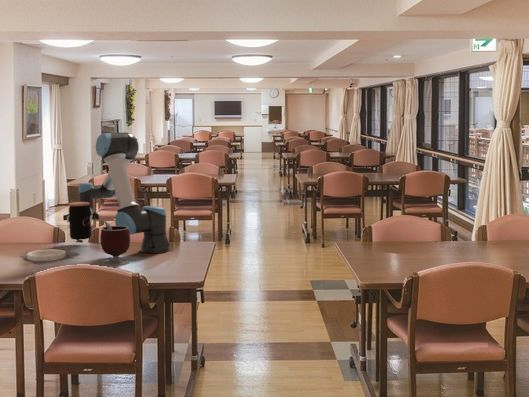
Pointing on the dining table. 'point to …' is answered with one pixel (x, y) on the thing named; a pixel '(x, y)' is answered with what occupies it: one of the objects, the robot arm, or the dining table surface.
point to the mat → (46, 261)
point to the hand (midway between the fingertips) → (79, 219)
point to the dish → (46, 255)
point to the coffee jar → (79, 220)
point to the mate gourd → (115, 243)
